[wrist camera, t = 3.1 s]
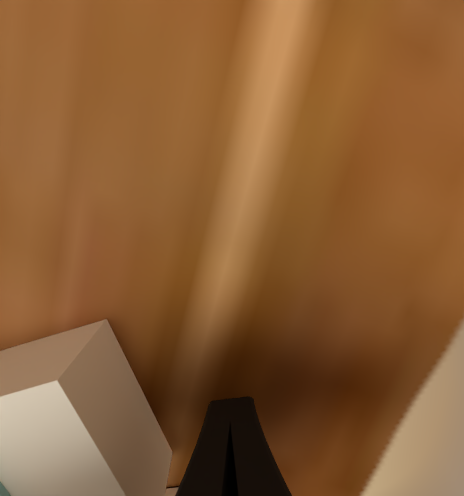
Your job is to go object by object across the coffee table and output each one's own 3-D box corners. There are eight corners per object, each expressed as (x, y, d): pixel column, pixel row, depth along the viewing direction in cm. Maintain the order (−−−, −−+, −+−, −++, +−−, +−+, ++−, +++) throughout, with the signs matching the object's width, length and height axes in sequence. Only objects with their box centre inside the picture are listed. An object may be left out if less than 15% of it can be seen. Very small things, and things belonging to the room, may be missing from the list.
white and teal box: (174, 444, 11) (150, 570, 7) (-10, 493, 11) (-112, 632, 8) (110, 313, 9) (43, 397, 6) (-101, 377, 10) (-279, 489, 6)
